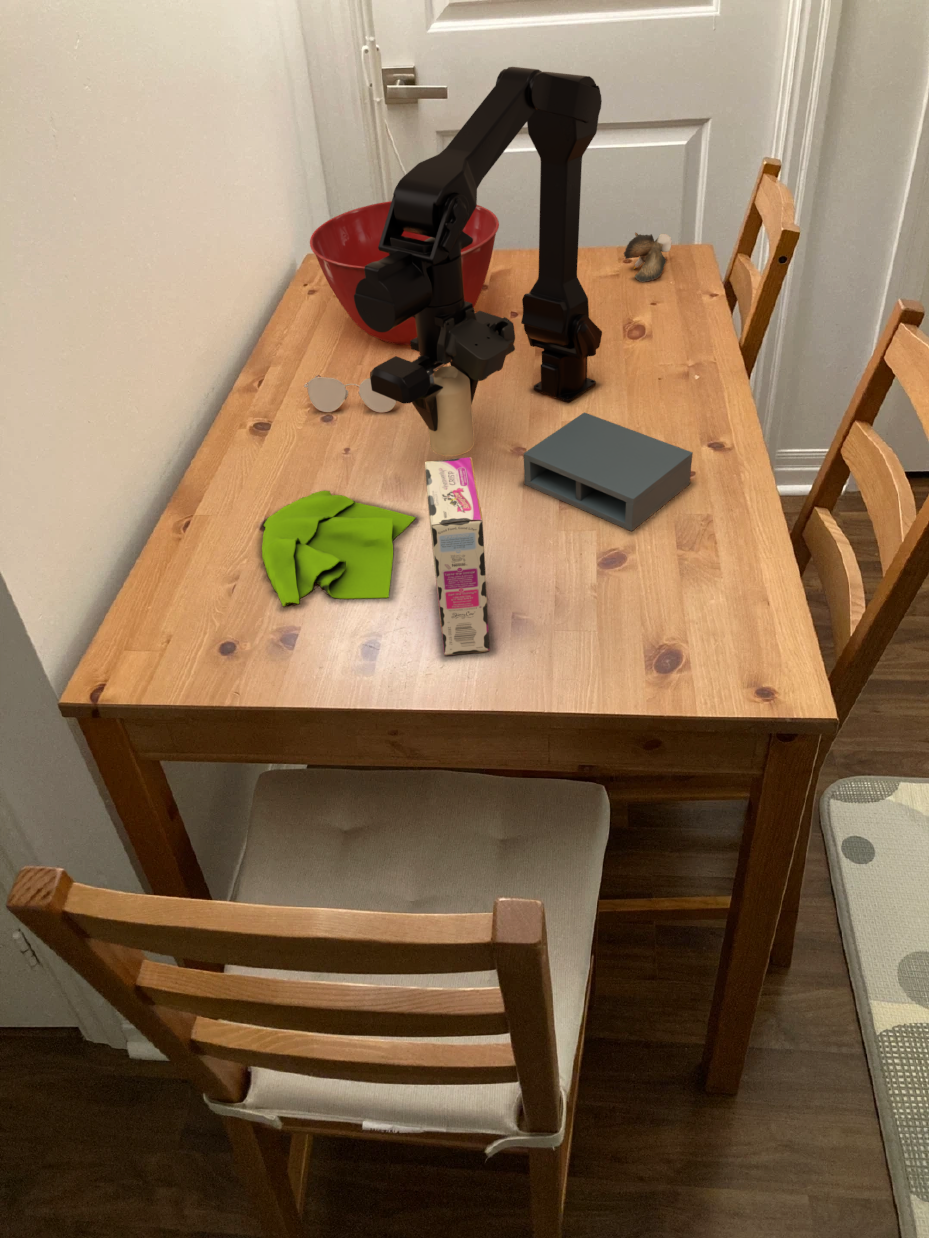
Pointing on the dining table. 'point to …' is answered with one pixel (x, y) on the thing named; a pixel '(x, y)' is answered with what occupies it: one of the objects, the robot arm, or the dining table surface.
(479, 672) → the dining table surface
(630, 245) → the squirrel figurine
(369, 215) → the mixing bowl
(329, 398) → the sunglasses
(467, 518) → the candy bar box
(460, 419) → the candle
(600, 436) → the shelf
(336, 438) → the dining table surface
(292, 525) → the cloth
